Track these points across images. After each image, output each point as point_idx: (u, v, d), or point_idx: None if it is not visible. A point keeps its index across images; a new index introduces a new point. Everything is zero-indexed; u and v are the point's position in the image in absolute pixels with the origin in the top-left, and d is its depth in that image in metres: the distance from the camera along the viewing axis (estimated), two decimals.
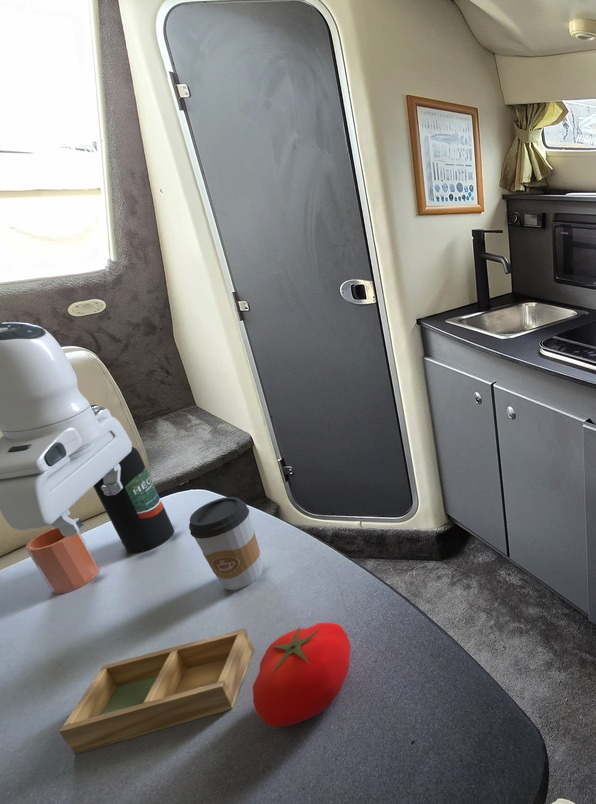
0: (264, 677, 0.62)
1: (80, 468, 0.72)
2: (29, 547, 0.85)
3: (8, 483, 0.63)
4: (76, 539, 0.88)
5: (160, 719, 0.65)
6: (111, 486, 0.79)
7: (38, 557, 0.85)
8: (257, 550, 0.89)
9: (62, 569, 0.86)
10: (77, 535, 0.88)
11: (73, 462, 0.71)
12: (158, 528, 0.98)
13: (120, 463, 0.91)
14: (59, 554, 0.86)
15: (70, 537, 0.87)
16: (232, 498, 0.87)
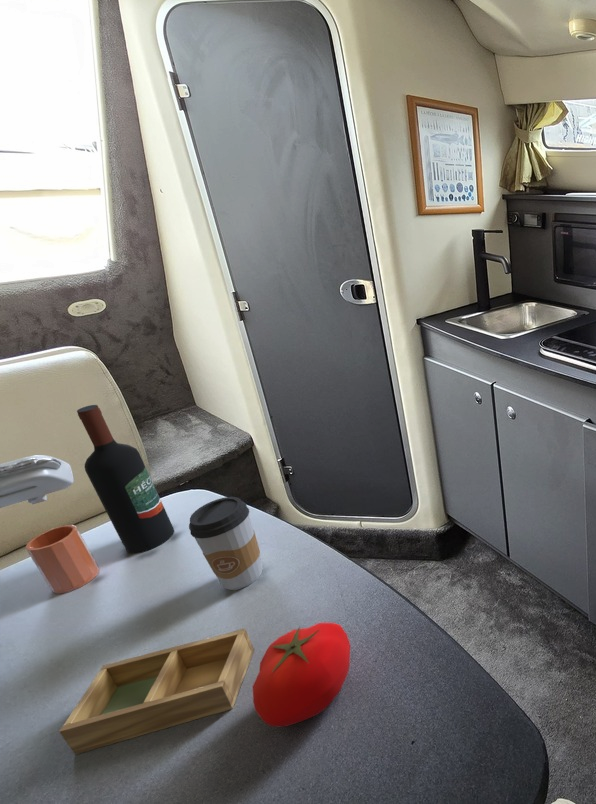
0: (264, 677, 0.62)
1: None
2: (29, 547, 0.85)
3: None
4: (76, 539, 0.88)
5: (160, 719, 0.65)
6: (28, 500, 0.74)
7: (38, 557, 0.85)
8: (257, 550, 0.89)
9: (62, 569, 0.86)
10: (77, 535, 0.88)
11: None
12: (158, 528, 0.98)
13: (120, 463, 0.91)
14: (59, 554, 0.86)
15: (70, 537, 0.87)
16: (232, 498, 0.87)
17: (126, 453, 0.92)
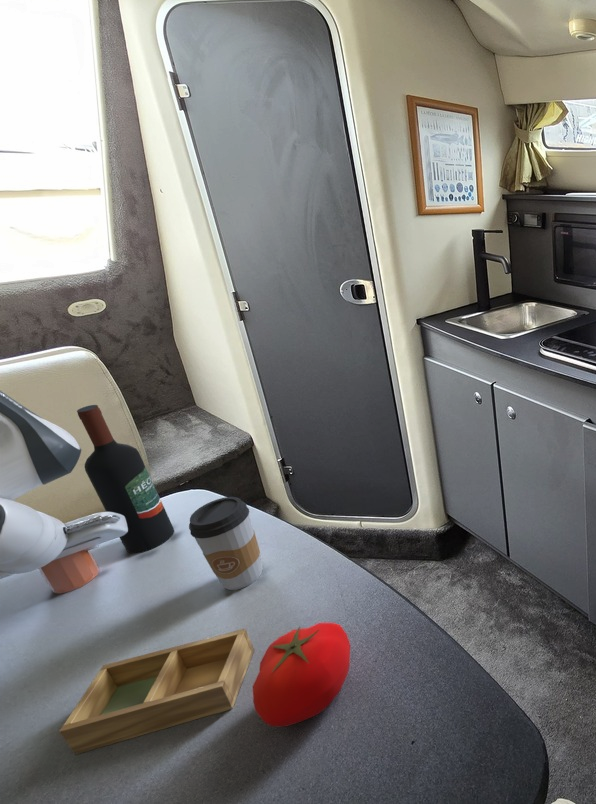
0: (264, 677, 0.62)
1: None
2: None
3: None
4: None
5: (160, 719, 0.65)
6: None
7: None
8: (257, 550, 0.89)
9: (62, 569, 0.87)
10: None
11: None
12: (158, 528, 0.98)
13: (120, 463, 0.91)
14: None
15: None
16: (232, 498, 0.87)
17: (126, 453, 0.92)
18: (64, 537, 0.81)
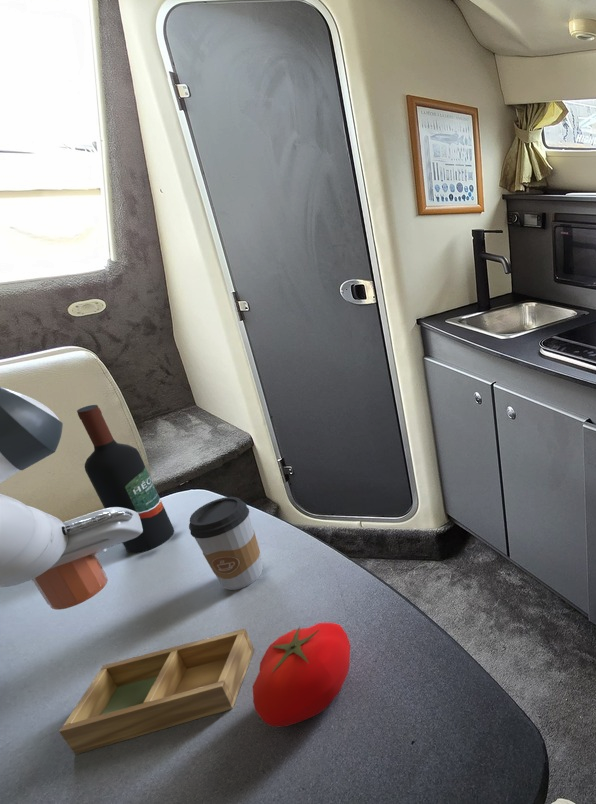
0: (264, 677, 0.62)
1: None
2: None
3: None
4: None
5: (160, 719, 0.65)
6: None
7: None
8: (257, 550, 0.89)
9: (61, 580, 0.69)
10: None
11: None
12: (158, 528, 0.98)
13: (120, 463, 0.91)
14: None
15: None
16: (232, 498, 0.87)
17: (126, 453, 0.92)
18: (63, 539, 0.63)
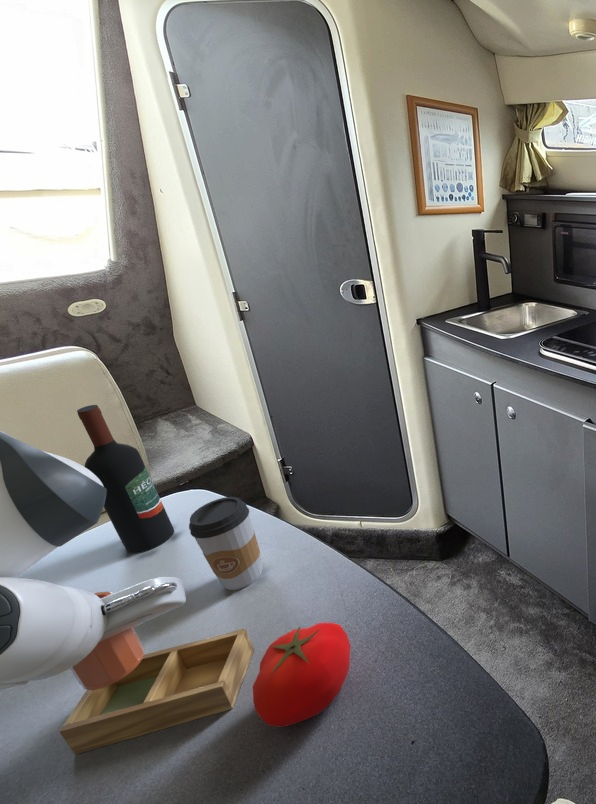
0: (264, 677, 0.62)
1: None
2: None
3: None
4: None
5: (160, 719, 0.65)
6: None
7: None
8: (257, 550, 0.89)
9: (96, 658, 0.61)
10: None
11: None
12: (158, 528, 0.98)
13: (120, 463, 0.91)
14: None
15: None
16: (232, 498, 0.87)
17: (126, 453, 0.92)
18: (103, 621, 0.55)
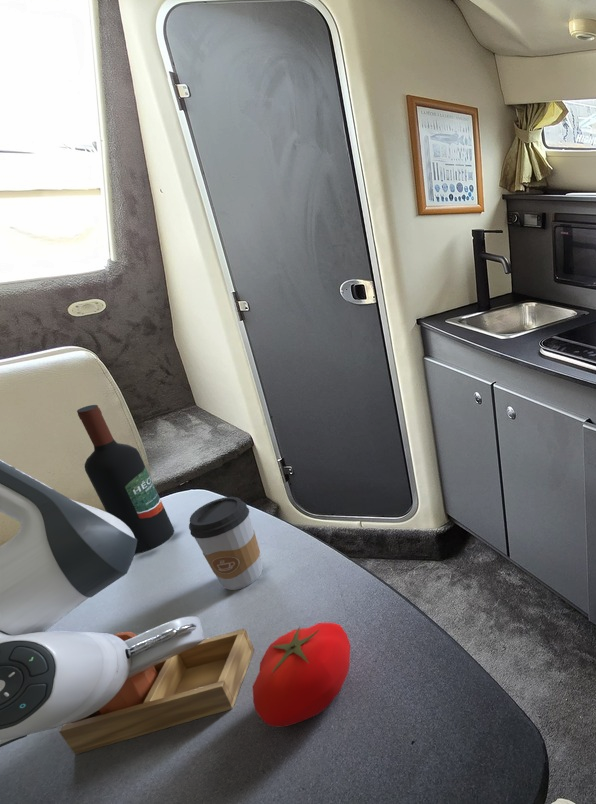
0: (264, 677, 0.62)
1: None
2: None
3: None
4: None
5: (160, 719, 0.65)
6: None
7: None
8: (257, 550, 0.89)
9: (119, 698, 0.64)
10: None
11: None
12: (158, 528, 0.98)
13: (120, 463, 0.91)
14: None
15: None
16: (232, 498, 0.87)
17: (126, 453, 0.92)
18: (127, 664, 0.58)
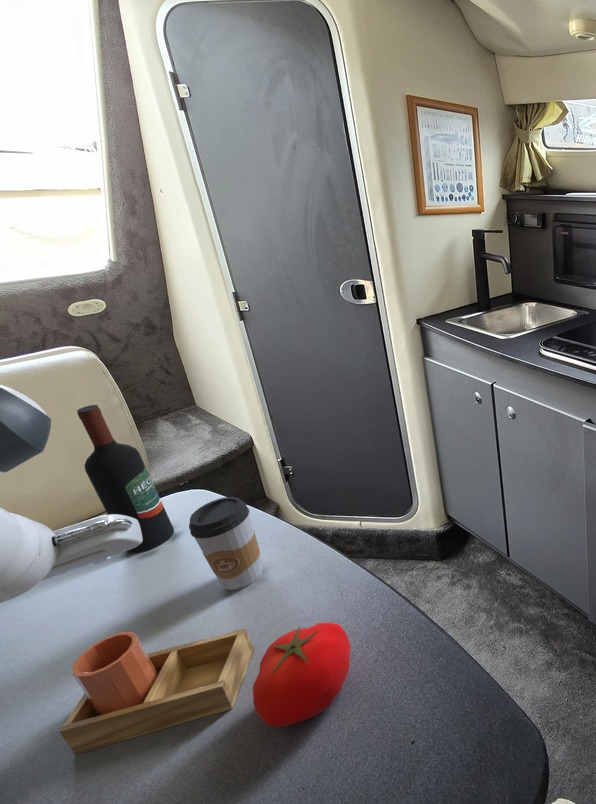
0: (264, 677, 0.62)
1: None
2: (77, 671, 0.62)
3: None
4: (137, 654, 0.65)
5: (160, 719, 0.65)
6: None
7: (89, 685, 0.62)
8: (257, 550, 0.89)
9: (119, 698, 0.64)
10: (138, 648, 0.66)
11: None
12: (158, 528, 0.98)
13: (120, 463, 0.91)
14: (116, 678, 0.63)
15: (130, 653, 0.64)
16: (232, 498, 0.87)
17: (126, 453, 0.92)
18: (53, 551, 0.56)
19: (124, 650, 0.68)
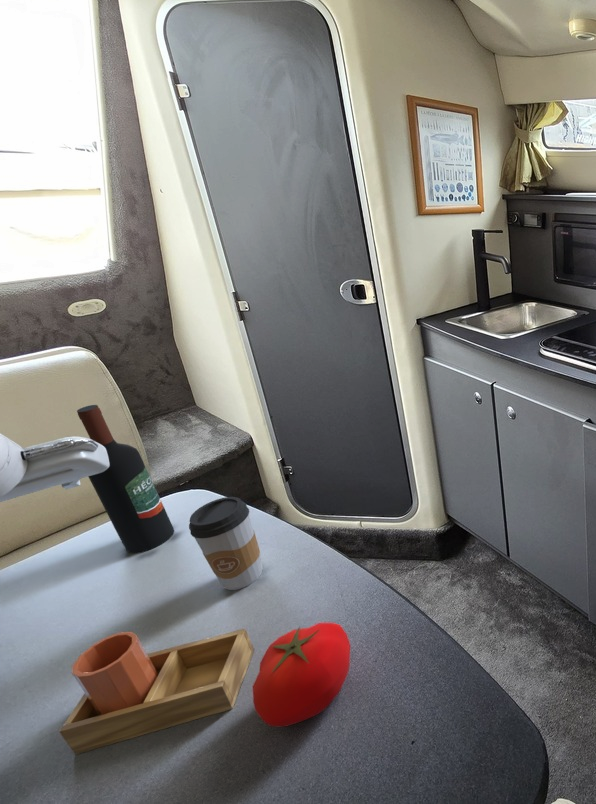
0: (264, 677, 0.62)
1: None
2: (77, 671, 0.62)
3: None
4: (137, 654, 0.65)
5: (160, 719, 0.65)
6: (61, 484, 0.70)
7: (89, 685, 0.62)
8: (257, 550, 0.89)
9: (119, 698, 0.64)
10: (138, 648, 0.66)
11: None
12: (158, 528, 0.98)
13: (120, 463, 0.91)
14: (116, 678, 0.63)
15: (130, 653, 0.64)
16: (232, 498, 0.87)
17: (126, 453, 0.92)
18: (22, 464, 0.61)
19: (124, 650, 0.68)
